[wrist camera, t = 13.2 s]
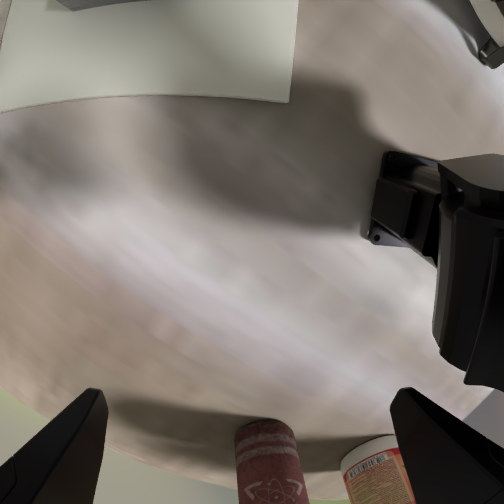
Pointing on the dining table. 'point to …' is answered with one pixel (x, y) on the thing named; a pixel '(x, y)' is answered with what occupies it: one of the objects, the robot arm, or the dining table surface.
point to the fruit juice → (377, 473)
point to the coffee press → (491, 30)
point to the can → (268, 465)
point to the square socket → (91, 3)
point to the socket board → (147, 51)
